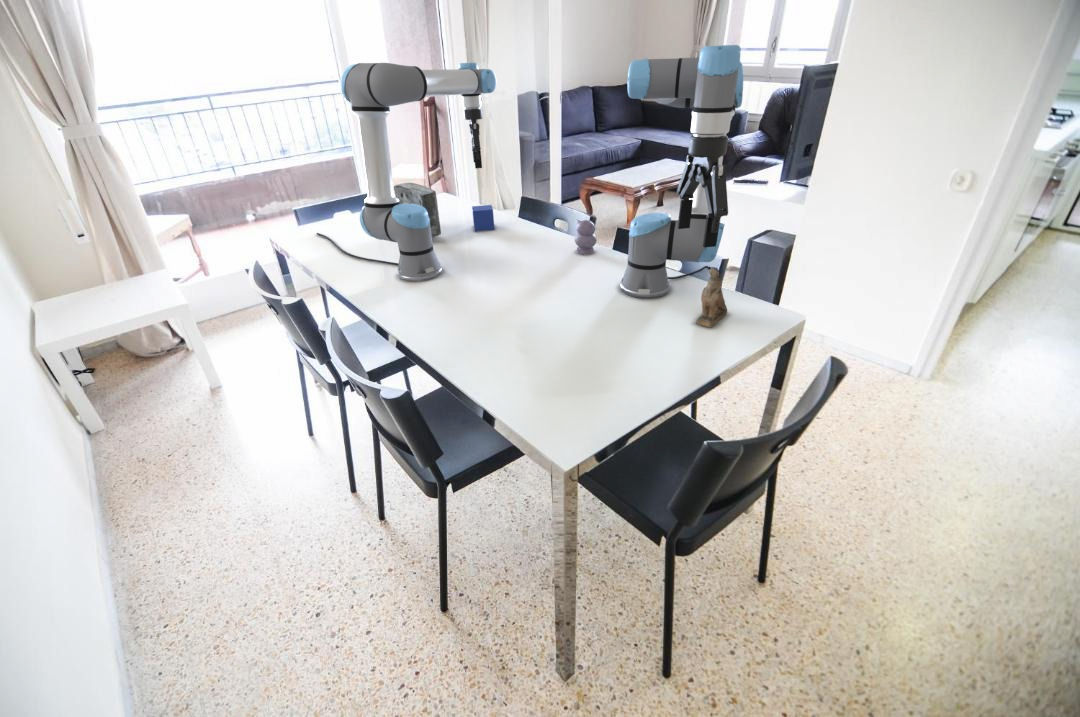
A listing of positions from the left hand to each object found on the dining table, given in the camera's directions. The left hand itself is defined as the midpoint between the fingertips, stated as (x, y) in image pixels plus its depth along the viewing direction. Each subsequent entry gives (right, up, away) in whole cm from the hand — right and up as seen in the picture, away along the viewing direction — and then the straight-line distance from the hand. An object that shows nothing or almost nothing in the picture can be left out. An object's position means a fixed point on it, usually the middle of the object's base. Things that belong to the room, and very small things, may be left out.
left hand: (477, 165), depth 207 cm
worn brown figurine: (+74, -69, -67) cm, 122 cm away
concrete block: (-25, -28, +7) cm, 38 cm away
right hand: (+61, -53, -95) cm, 124 cm away
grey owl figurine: (+43, -40, -17) cm, 61 cm away
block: (+1, -23, +14) cm, 27 cm away
